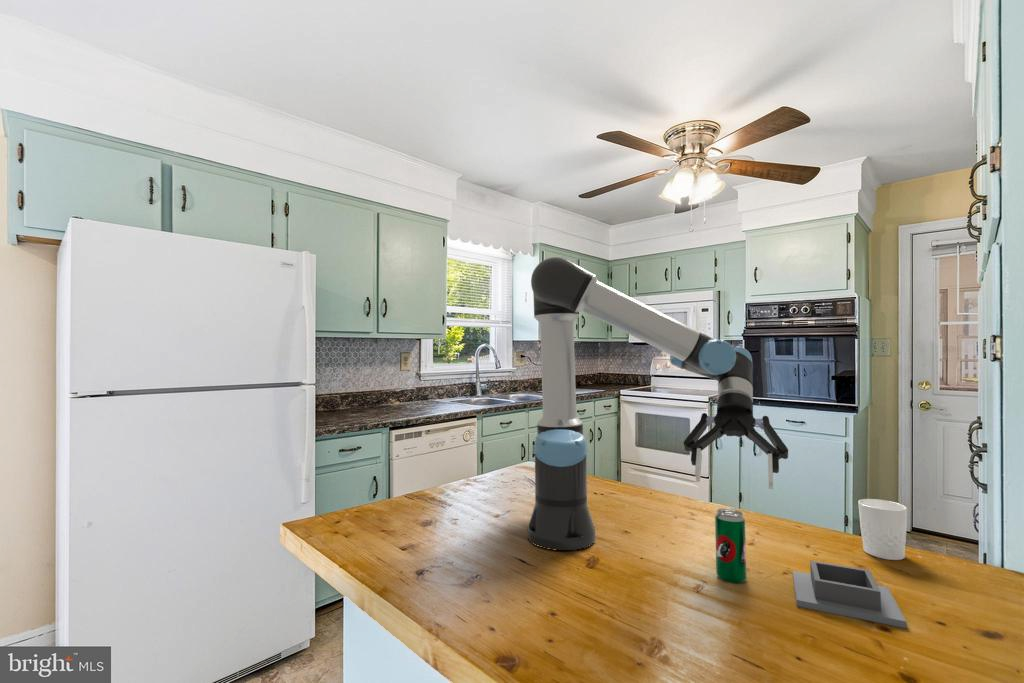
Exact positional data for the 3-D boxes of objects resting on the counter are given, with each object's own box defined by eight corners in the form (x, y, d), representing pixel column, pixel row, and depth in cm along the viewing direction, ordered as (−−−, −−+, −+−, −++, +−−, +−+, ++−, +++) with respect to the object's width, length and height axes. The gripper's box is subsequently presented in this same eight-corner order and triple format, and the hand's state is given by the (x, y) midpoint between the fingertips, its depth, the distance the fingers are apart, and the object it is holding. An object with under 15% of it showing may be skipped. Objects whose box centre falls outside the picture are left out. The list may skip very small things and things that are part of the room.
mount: (796, 606, 77) (796, 581, 77) (792, 576, 88) (792, 554, 88) (906, 628, 71) (905, 600, 71) (887, 593, 81) (887, 569, 81)
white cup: (898, 548, 100) (896, 500, 100) (916, 564, 92) (914, 512, 93) (854, 544, 102) (852, 497, 103) (868, 558, 95) (866, 508, 95)
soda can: (750, 585, 84) (748, 517, 85) (719, 583, 85) (718, 515, 86) (742, 573, 89) (740, 508, 89) (713, 571, 90) (712, 506, 90)
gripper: (796, 414, 107) (803, 498, 93) (680, 409, 119) (671, 484, 105) (797, 392, 103) (805, 477, 89) (676, 389, 114) (667, 464, 101)
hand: (733, 481), depth 97 cm, fingers open, 13 cm apart
